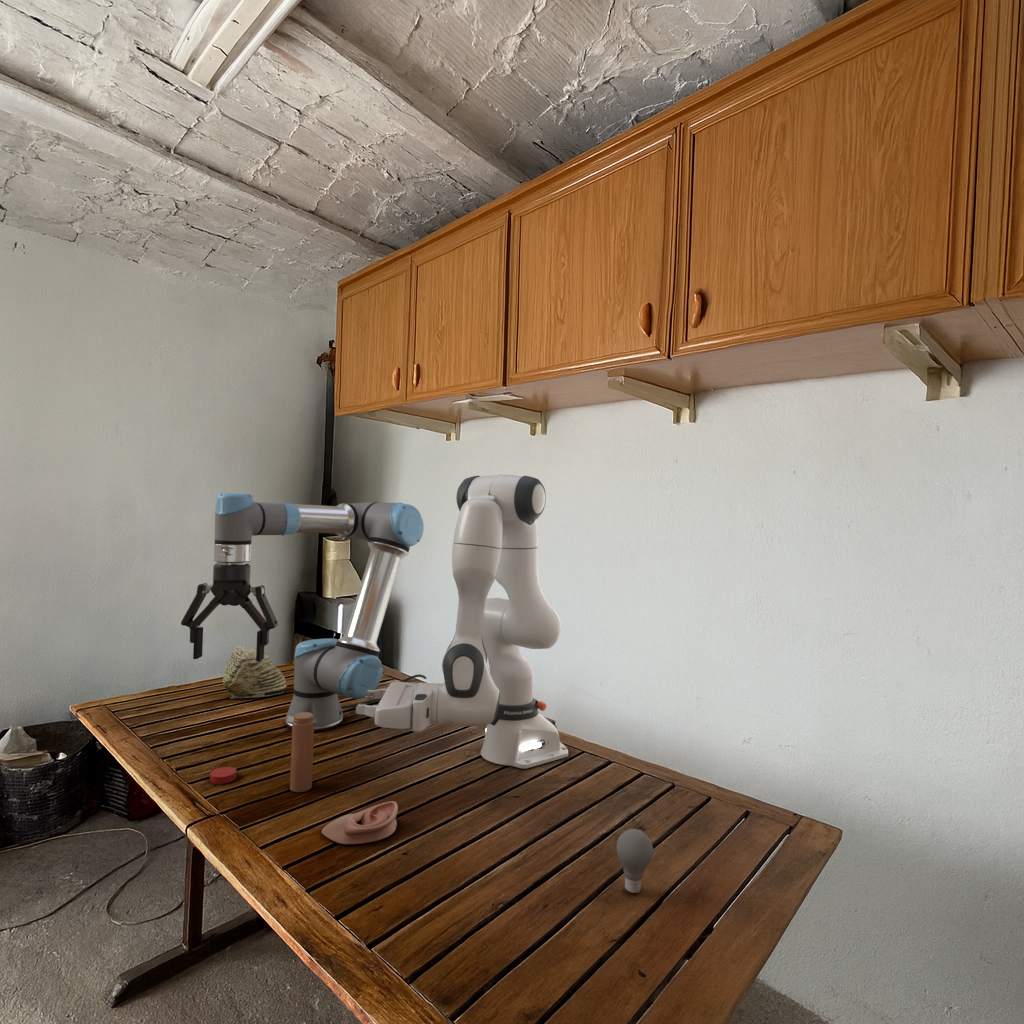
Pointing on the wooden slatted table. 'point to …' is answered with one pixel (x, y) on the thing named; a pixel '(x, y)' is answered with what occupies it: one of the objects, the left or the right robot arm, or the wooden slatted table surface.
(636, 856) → the light bulb
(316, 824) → the wooden slatted table surface
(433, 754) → the wooden slatted table surface
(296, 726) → the jar
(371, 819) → the anatomical model
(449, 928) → the wooden slatted table surface
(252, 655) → the fossil
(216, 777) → the lid
